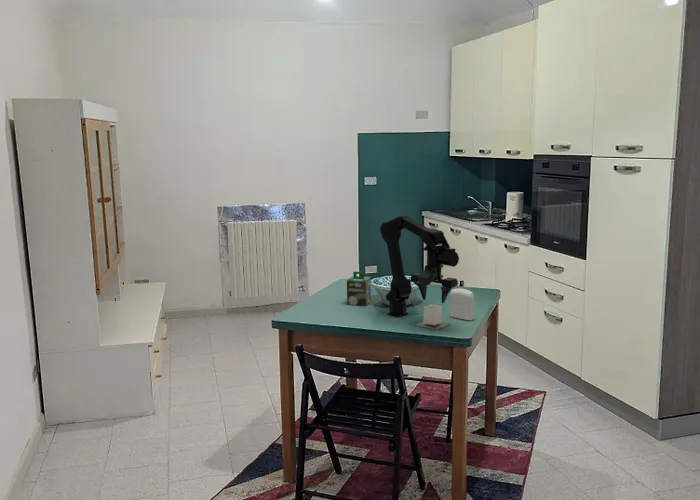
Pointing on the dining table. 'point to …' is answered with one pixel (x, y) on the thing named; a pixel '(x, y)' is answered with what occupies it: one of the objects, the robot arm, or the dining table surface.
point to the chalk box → (358, 290)
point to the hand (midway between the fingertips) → (433, 301)
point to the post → (433, 327)
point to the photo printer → (462, 304)
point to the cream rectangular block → (432, 314)
